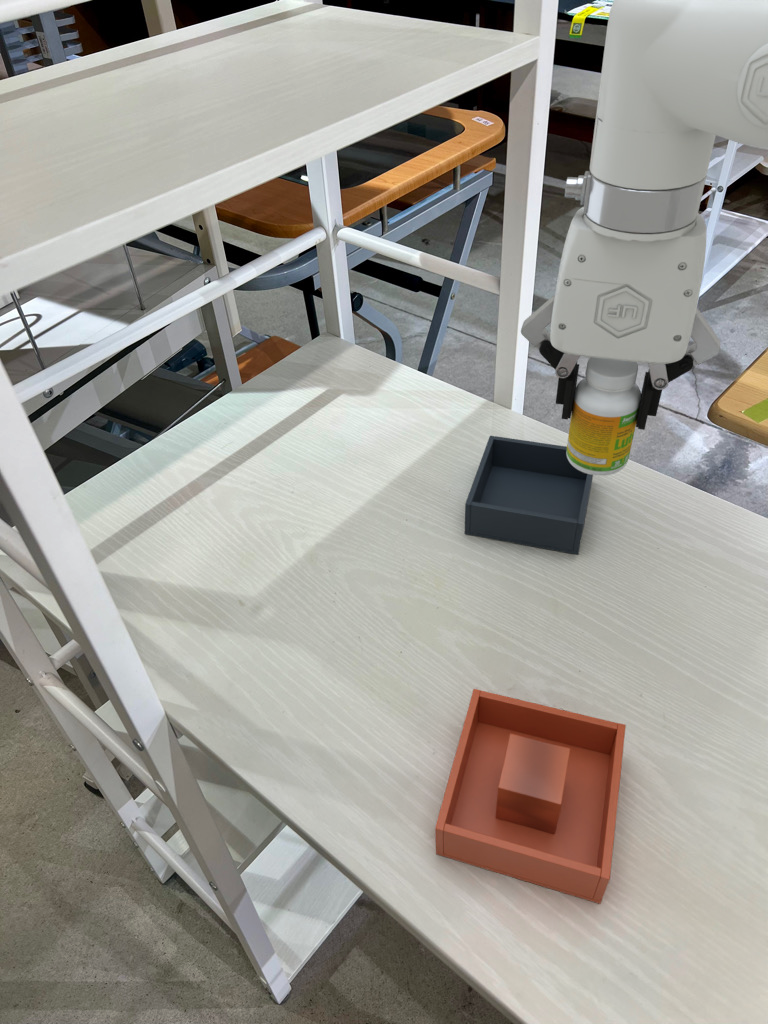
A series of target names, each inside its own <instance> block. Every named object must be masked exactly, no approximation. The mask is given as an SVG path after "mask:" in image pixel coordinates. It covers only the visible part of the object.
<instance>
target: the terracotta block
mask: <svg viewBox="0 0 768 1024" xmlns="http://www.w3.org/2000/svg"><path fill="white" fill-rule="evenodd" d="M569 755H570V749H569V748H566V747H562V746H558V745H554V744H550V743H546V742H542V741H538V740H534V739H530V738H526V737H522V736H518V735H514V734H510V736H509V741H508V745H507V750H506V754H505V759H504V763H503V767H502V772H501V776H500V781H499V785H498V793H497V804H496V815H495V817H496V818H498V819H501V820H505V821H508V822H512V823H515V824H519V825H523V826H526V827H530V828H533V829H537V830H540V831H544V832H547V833H551V834H555V832H556V828H557V823H558V819H559V814H560V810H561V805H562V799H563V793H564V787H565V780H566V774H567V768H568V762H569Z"/></svg>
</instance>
